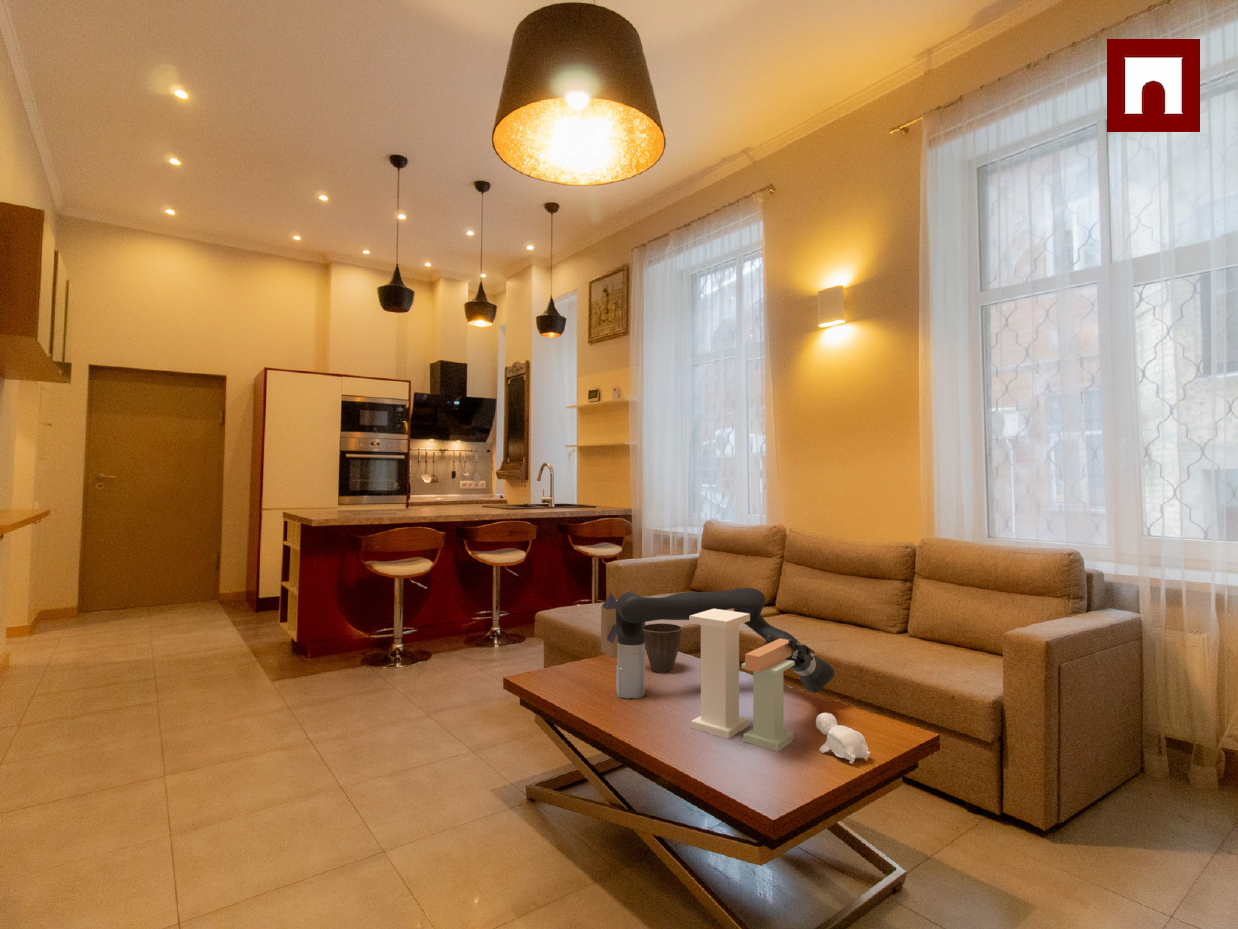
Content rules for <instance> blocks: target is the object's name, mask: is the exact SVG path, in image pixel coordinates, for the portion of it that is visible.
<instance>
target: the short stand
mask: <svg viewBox="0 0 1238 929" xmlns="http://www.w3.org/2000/svg"><path fill="white" fill-rule="evenodd" d="M794 665H795V661H791V660H785V659H784V660H782V661H780V662H778V663H776V664H774V665H772V666H771V667H769V668H767V669H765V670H763V671H761V672H755V671H752V672H753V675H752V676H753V679H752V680H753V683H752V684H753V685H752V686H753V689H752V692H753V698H752V699H753V700H752V701H753V703H752V704H753V705H752V706H753V707H752V710H753V715H752V718H753V719H752V720H753V723H752V724H753V726H752V728H750V729H749V730H748V731H746V732H744V733H743V740H742V741H743V742H744V743H747V744H749V743H750V744H749V745H753V746H757V747H760V748H763V749H766V750H770V751H774V752H777V753H779V752H780V751H781V750H783V749H784V748H786V747H787V744H788V745H789V744H790V743H792V742H793V741H794V740H795V739H794V738H795V737H794V736H795V734H794V732H793V731H790V730H785V729H784V728H785V727H784V725H785V722H784V721H785V720H784V716H785V715H784V711H785V708H784V701H785V700H784V672H785V671H786V670H788V669H791V668H790V667H792V666H794ZM740 668H741V669H745V662H743V663H741V667H740ZM793 739H794V740H793ZM792 740H793V741H792ZM791 741H792V742H791Z"/></svg>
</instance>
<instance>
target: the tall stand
mask: <svg viewBox="0 0 1238 929" xmlns="http://www.w3.org/2000/svg"><path fill="white" fill-rule="evenodd" d="M688 621H689V623H688V624H694V625H700V716H698V717H696V718H693V719H692V720H691V721H690V728H691V729H693V730H696V731H700V732H704V733H706V732H707V734H710V735H713V736H715V737H720V738H724V739H727V740H729V739H731V738H733V737H734V736H735V735H737V734H739V733H740V732H741V731H743V730H745V729H746V728H748V727H749V724H750V722H749V720H750V719H749V718H746V717H742V716H740V625H741V624H745V622H748V621H750V614H748V613H741V612H734V610H721V609H711V610H707V611H704V612H700V613H697V614H694V615H690V616H689V620H688ZM747 726H748V727H747ZM738 732H739V733H738Z"/></svg>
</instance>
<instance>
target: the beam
mask: <svg viewBox="0 0 1238 929" xmlns="http://www.w3.org/2000/svg"><path fill="white" fill-rule="evenodd" d="M788 641H789V640H786V639H777V640H775V641H773V642H771V643H769V644H766V645H765V644H764V645H762V646H760V647H758V648H755V649H754V650H751V651H749V652H746V653H745V654H744V656H745V657H744V663H745V668H744V670H745V671H746V670H747V671H751V672H753V671H755V672H761V671H763V670H765V669H767V668H769V667H771V666H772V665H774V664H776V663H778V662H780V661H782V660H784V659H786V658H788V657H790V656H792V655H793V650H792V649H790V648H789V647H788Z"/></svg>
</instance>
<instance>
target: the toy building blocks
mask: <svg viewBox="0 0 1238 929" xmlns="http://www.w3.org/2000/svg"><path fill="white" fill-rule="evenodd" d="M616 604H617V600H616V598H615V596H614V595H613V593H612V592H610V593H609V595H608V596H607V597H606V599H605V600H604V602H603V604H602V605H601V608H600V610H601V611H600V614H601V616H600V617H601V618H600V627H601V628H600V652H601V653H603V654H604V655H606V656H607V657H609V656H610V657H612V658H617V632H616ZM645 625H646V622H643V626H645ZM645 650H646V648H645ZM610 657H609V658H610ZM612 658H611V659H612Z"/></svg>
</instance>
